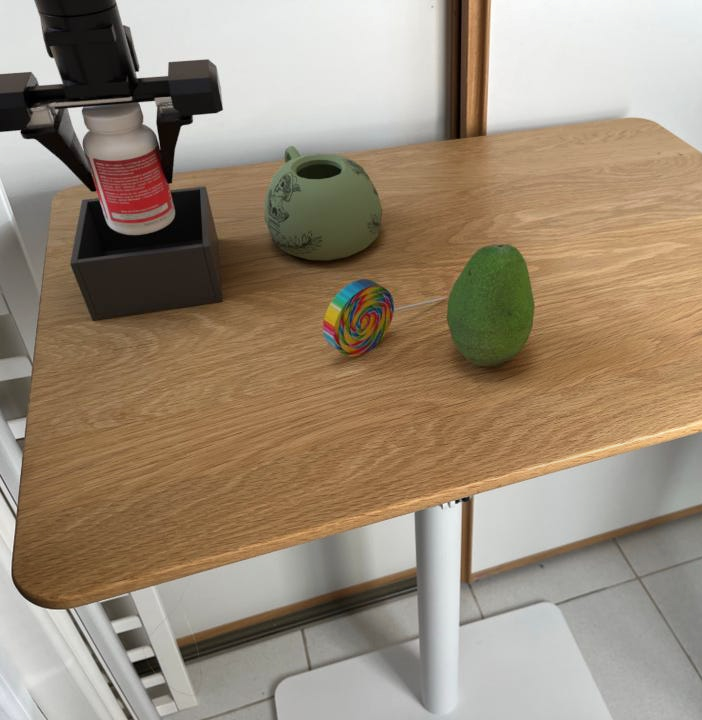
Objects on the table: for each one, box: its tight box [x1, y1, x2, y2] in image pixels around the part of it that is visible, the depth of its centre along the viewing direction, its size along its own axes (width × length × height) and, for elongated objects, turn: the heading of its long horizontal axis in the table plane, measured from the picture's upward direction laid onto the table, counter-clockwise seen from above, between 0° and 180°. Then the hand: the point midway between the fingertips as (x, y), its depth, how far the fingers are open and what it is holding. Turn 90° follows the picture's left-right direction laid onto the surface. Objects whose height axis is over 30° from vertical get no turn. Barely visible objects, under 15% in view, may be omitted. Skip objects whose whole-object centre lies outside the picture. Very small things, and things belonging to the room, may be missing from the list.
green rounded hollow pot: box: [264, 145, 383, 262], centre depth 83 cm, size 16×13×9 cm
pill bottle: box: [81, 102, 175, 235], centre depth 68 cm, size 6×6×11 cm
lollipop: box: [322, 278, 446, 358], centre depth 71 cm, size 7×2×15 cm
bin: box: [69, 186, 224, 321], centre depth 76 cm, size 12×12×7 cm
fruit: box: [446, 243, 535, 368], centre depth 66 cm, size 8×8×12 cm
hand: (132, 185), depth 69 cm, fingers closed on pill bottle, 6 cm apart
